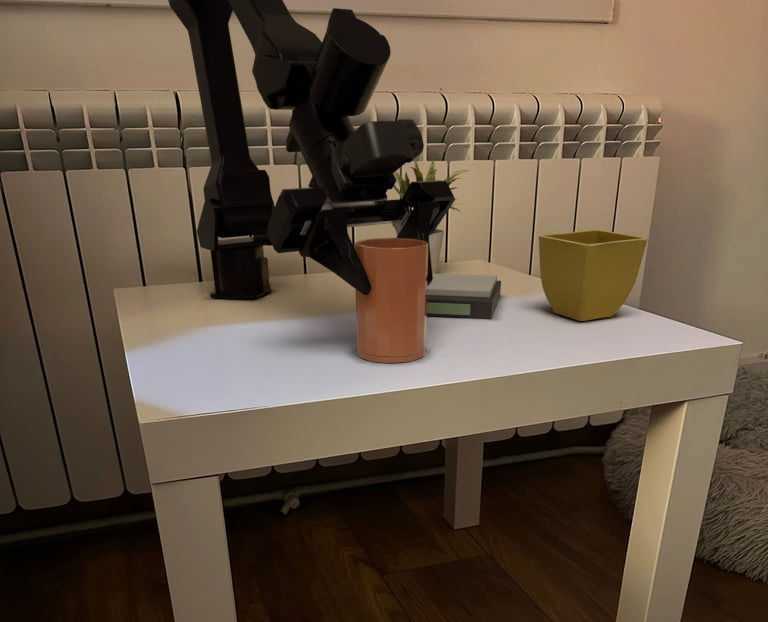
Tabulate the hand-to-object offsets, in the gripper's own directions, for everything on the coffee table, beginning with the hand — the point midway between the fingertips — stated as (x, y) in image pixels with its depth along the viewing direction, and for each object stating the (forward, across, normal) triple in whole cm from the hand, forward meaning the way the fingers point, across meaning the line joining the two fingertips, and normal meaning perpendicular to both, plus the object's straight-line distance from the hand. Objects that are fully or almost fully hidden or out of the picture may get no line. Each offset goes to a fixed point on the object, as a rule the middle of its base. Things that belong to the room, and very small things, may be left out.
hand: (399, 287), depth 69 cm
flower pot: (+4, +28, +6) cm, 28 cm away
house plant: (-18, +28, +28) cm, 44 cm away
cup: (+4, 0, +6) cm, 7 cm away
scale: (-6, +19, +15) cm, 25 cm away
